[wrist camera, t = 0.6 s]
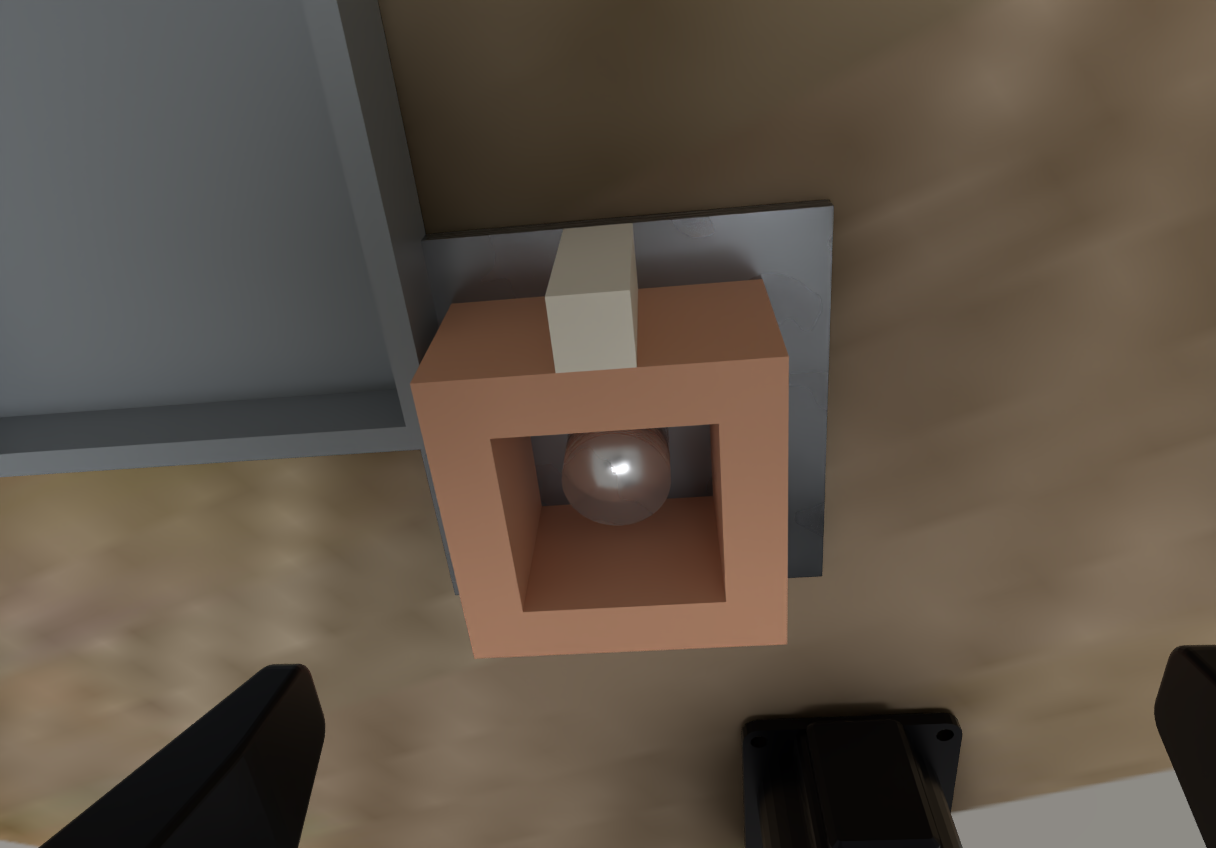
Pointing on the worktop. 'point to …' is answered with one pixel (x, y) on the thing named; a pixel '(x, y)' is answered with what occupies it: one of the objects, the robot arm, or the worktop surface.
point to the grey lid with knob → (668, 256)
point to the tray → (204, 235)
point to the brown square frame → (609, 401)
